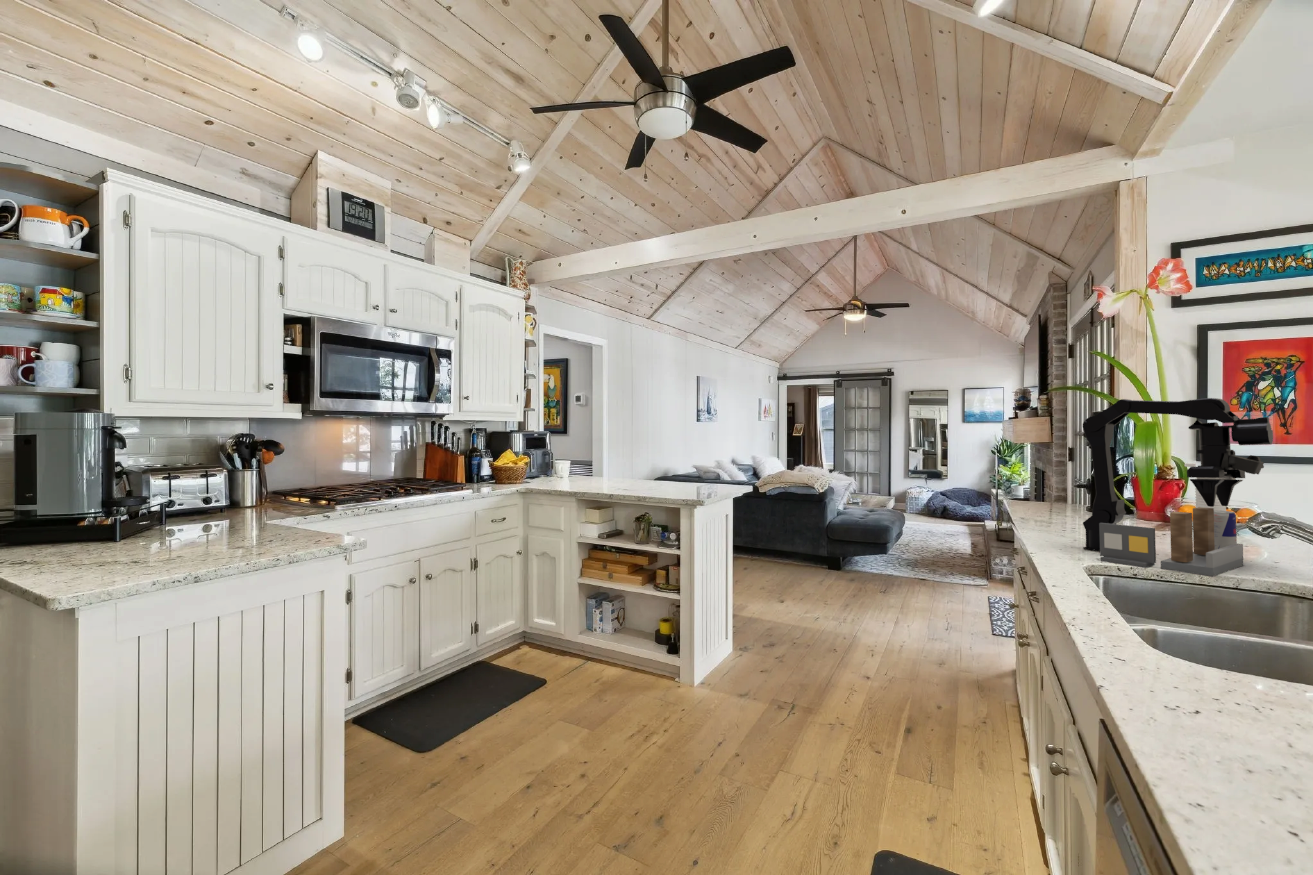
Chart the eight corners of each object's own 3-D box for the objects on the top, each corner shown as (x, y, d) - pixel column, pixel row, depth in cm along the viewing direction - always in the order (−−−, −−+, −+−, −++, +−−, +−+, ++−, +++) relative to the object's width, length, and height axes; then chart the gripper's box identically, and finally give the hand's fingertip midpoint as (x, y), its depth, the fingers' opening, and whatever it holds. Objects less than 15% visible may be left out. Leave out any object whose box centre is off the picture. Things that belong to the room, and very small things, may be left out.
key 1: (1171, 560, 146) (1169, 512, 146) (1177, 558, 148) (1176, 511, 148) (1186, 562, 143) (1185, 514, 143) (1193, 560, 145) (1191, 512, 145)
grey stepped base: (1160, 568, 147) (1160, 547, 147) (1192, 558, 157) (1192, 538, 157) (1213, 576, 138) (1212, 553, 138) (1243, 565, 148) (1242, 544, 148)
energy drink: (1242, 556, 158) (1241, 513, 158) (1219, 556, 159) (1218, 512, 159) (1227, 552, 163) (1226, 510, 163) (1205, 552, 164) (1204, 510, 164)
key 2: (1193, 553, 153) (1192, 508, 153) (1199, 551, 155) (1198, 507, 155) (1208, 555, 150) (1207, 509, 150) (1214, 553, 152) (1213, 508, 152)
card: (1096, 560, 158) (1095, 523, 158) (1105, 558, 161) (1104, 522, 161) (1150, 568, 148) (1149, 529, 148) (1159, 565, 150) (1158, 527, 150)
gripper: (1244, 443, 139) (1248, 508, 138) (1271, 446, 148) (1274, 507, 147) (1184, 445, 149) (1187, 506, 147) (1213, 447, 158) (1216, 505, 157)
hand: (1218, 506), depth 149 cm, fingers open, 9 cm apart
